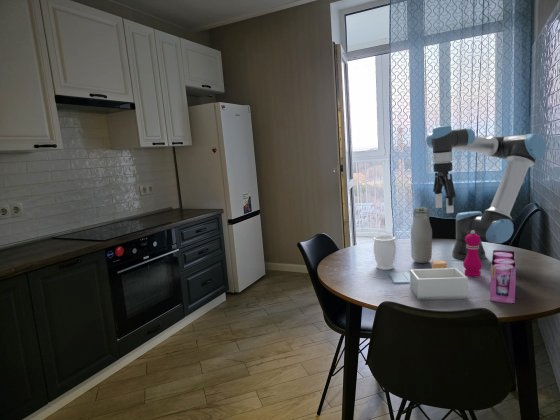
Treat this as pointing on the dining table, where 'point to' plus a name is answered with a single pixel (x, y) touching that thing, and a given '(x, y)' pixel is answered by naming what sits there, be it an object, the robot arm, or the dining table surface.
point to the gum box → (503, 276)
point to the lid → (405, 276)
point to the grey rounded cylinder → (421, 236)
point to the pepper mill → (472, 255)
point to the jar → (384, 252)
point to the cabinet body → (438, 283)
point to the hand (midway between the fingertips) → (444, 210)
